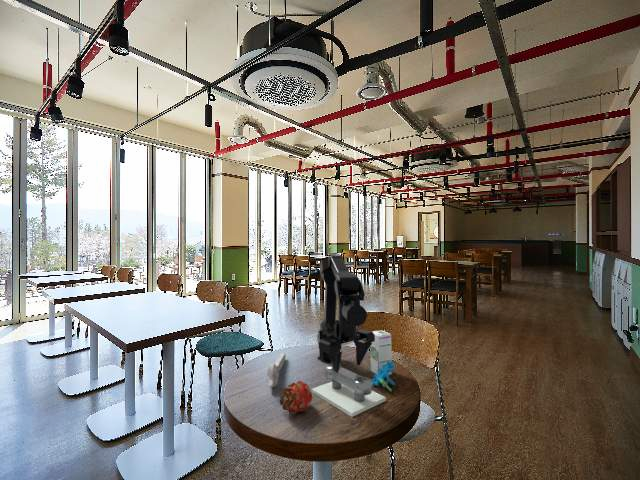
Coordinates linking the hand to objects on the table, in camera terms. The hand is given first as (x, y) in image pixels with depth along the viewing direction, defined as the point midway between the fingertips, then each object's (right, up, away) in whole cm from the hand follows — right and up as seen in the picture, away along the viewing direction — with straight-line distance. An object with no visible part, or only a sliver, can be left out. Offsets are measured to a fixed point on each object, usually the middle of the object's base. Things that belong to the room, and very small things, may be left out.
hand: (347, 368), depth 97 cm
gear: (+12, -9, +8) cm, 17 cm away
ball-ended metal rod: (0, -4, 0) cm, 5 cm away
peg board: (0, -8, 0) cm, 9 cm away
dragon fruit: (-15, -9, -7) cm, 19 cm away
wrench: (-24, -9, +16) cm, 30 cm away
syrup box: (+13, -9, +17) cm, 24 cm away
